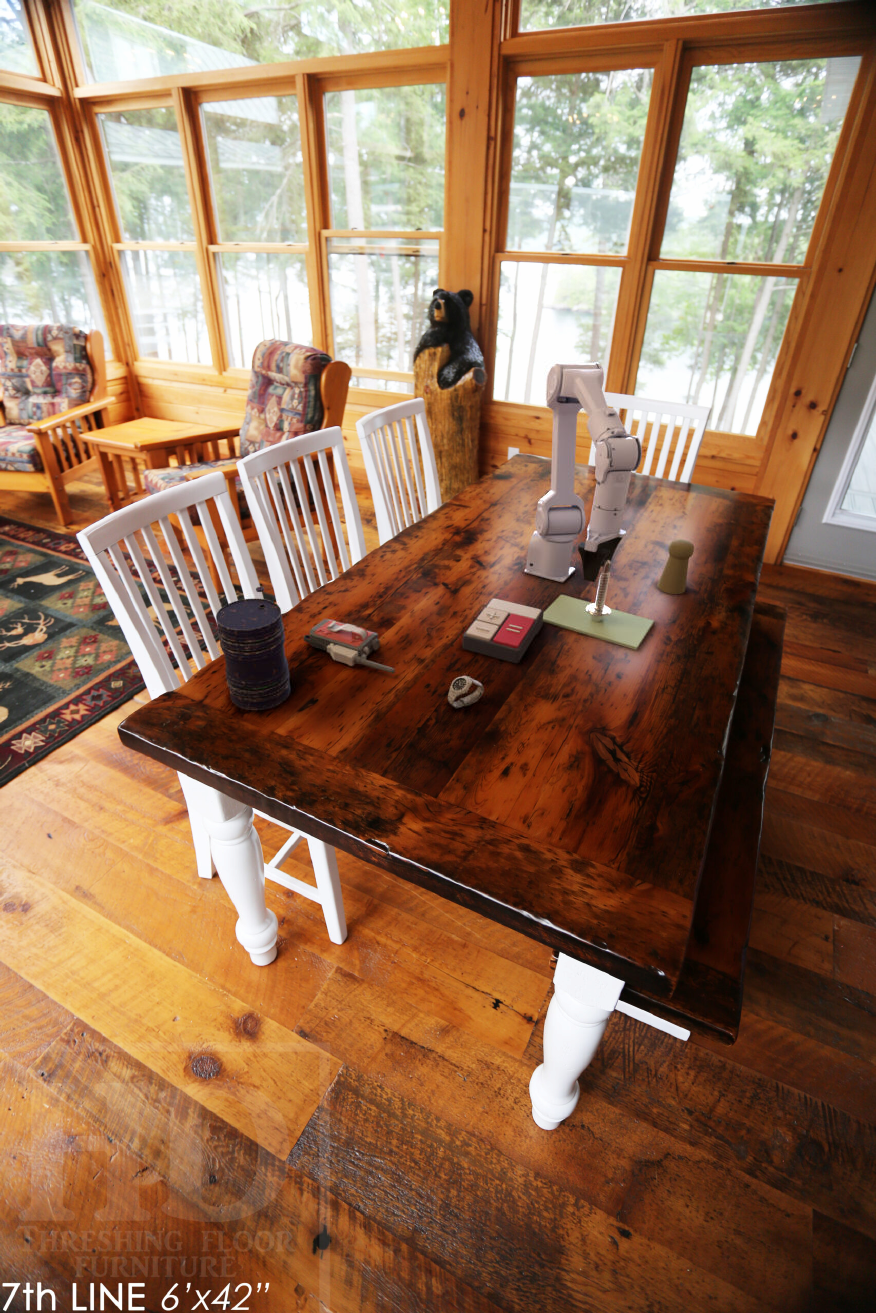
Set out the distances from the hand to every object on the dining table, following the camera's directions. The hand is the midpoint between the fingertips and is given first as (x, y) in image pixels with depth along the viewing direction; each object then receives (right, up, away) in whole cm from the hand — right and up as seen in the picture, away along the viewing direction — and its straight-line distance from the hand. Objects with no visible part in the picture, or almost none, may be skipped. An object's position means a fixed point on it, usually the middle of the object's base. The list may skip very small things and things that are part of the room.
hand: (596, 572), depth 124 cm
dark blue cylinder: (-60, -22, -18) cm, 66 cm away
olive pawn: (+21, -1, +19) cm, 28 cm away
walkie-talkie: (-46, -16, -7) cm, 49 cm away
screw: (+1, -9, +5) cm, 10 cm away
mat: (+1, -9, +5) cm, 10 cm away
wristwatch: (-26, -24, -19) cm, 40 cm away
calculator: (-18, -13, -1) cm, 22 cm away
